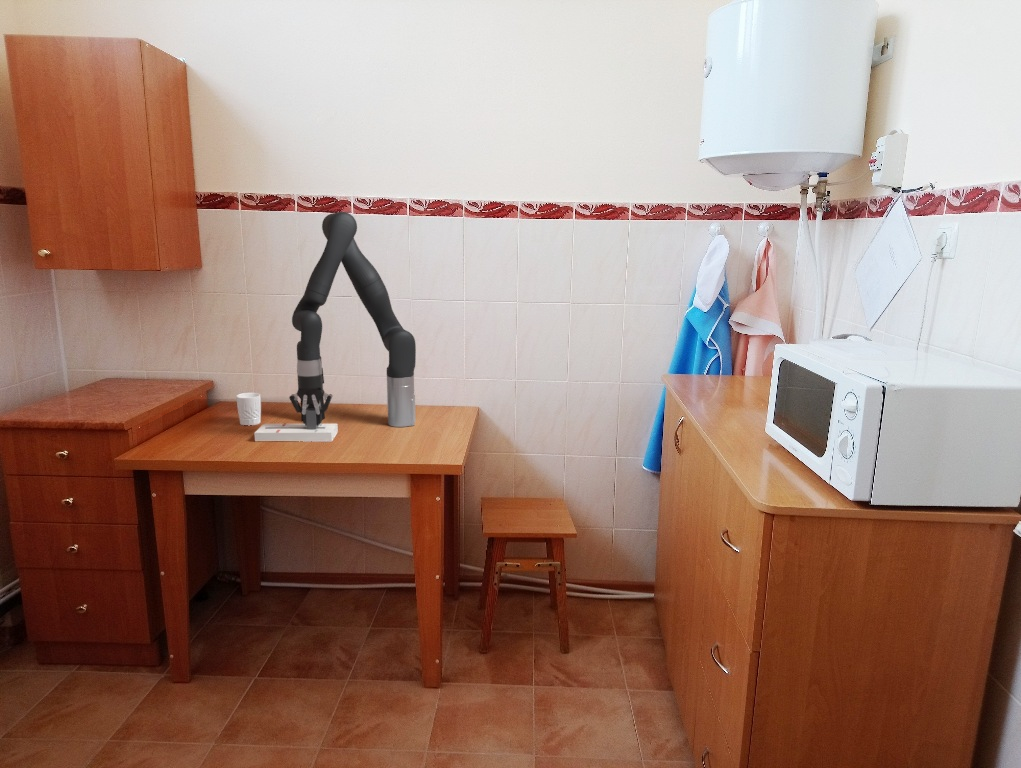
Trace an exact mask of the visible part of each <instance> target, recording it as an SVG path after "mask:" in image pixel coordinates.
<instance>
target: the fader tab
mask: <svg viewBox="0 0 1021 768" xmlns="http://www.w3.org/2000/svg"><path fill="white" fill-rule="evenodd" d="M306 423H307V429H317V427H318V426H319V425H318V426H317V423H316V410H315V408H308V409H307V410H306Z"/></svg>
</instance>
